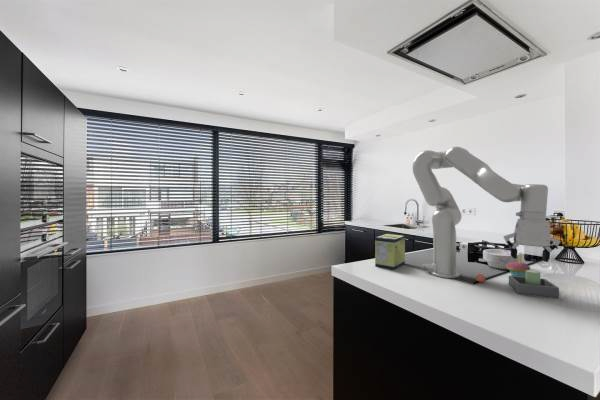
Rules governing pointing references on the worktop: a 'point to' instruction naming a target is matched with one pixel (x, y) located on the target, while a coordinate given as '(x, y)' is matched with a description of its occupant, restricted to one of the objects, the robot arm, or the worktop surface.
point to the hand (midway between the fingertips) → (529, 259)
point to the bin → (534, 287)
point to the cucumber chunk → (532, 277)
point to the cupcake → (517, 268)
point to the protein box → (389, 251)
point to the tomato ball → (480, 278)
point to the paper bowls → (499, 258)
